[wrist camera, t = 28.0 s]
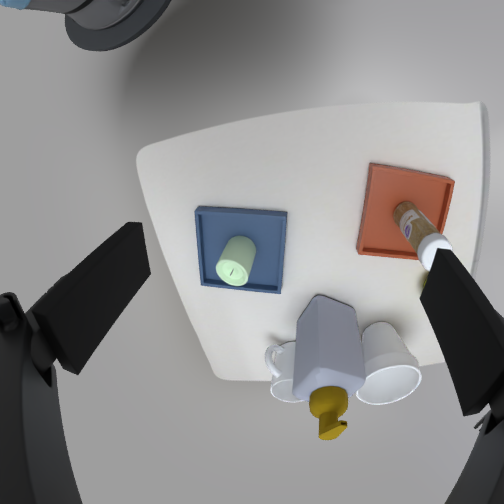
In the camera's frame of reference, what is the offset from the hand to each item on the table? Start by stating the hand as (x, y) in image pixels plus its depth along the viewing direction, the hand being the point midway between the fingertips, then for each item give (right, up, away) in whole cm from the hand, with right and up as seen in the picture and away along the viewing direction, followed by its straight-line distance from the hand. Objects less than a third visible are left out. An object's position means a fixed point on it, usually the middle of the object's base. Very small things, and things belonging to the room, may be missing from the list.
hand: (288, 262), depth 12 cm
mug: (+6, -20, +47) cm, 51 cm away
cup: (+24, -16, +41) cm, 51 cm away
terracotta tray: (+23, +7, +29) cm, 37 cm away
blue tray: (-3, +1, +37) cm, 37 cm away
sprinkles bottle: (+23, +6, +29) cm, 37 cm away
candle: (-3, +1, +36) cm, 36 cm away
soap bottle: (+12, -12, +41) cm, 45 cm away
